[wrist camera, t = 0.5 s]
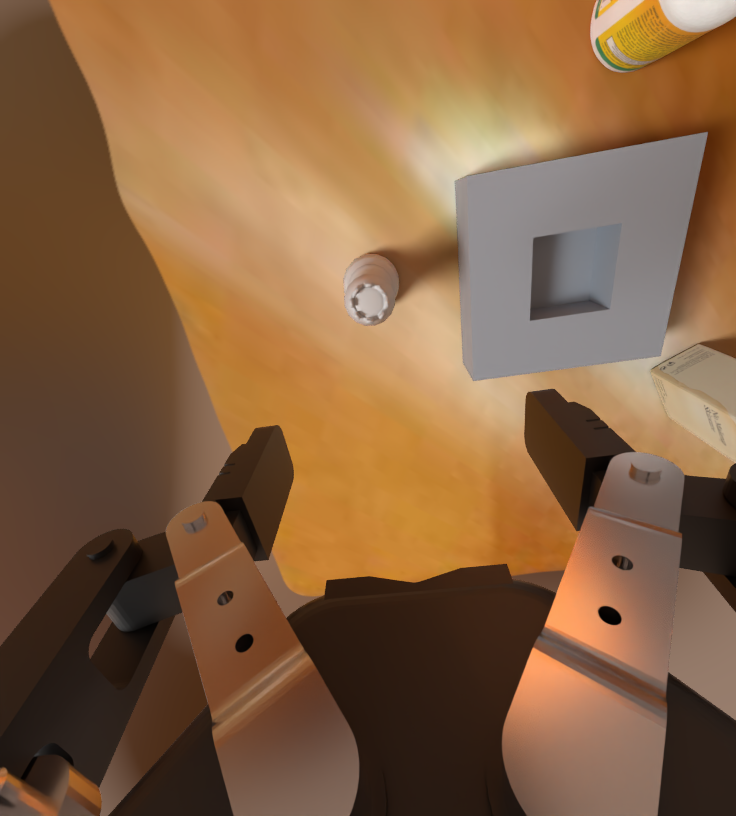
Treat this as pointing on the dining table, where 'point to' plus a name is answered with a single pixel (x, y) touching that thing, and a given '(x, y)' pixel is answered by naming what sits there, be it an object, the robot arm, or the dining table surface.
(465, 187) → the socket block
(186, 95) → the dining table surface
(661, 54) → the supplement bottle
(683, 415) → the skincare box
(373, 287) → the rook chess piece
